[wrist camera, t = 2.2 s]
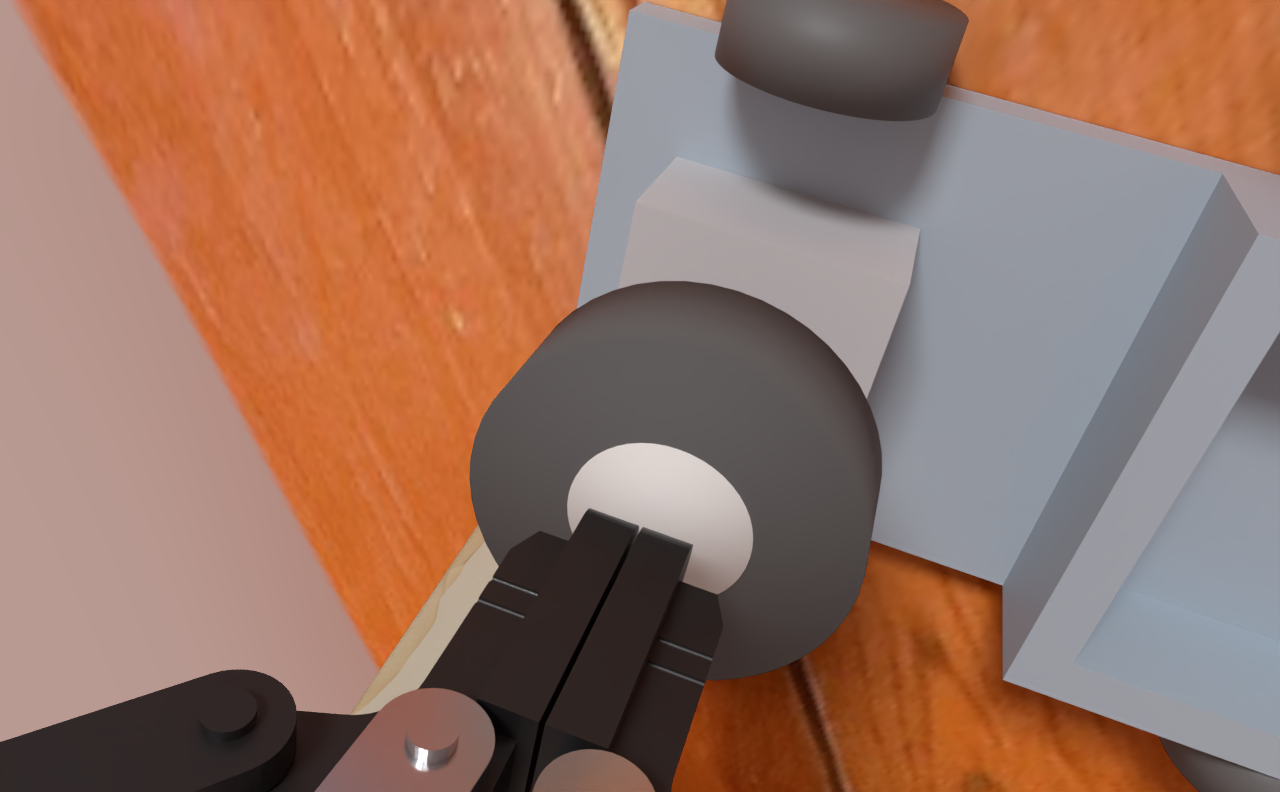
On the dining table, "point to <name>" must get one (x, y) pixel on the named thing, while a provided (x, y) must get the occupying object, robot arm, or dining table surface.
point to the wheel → (696, 456)
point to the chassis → (996, 337)
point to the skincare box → (432, 626)
